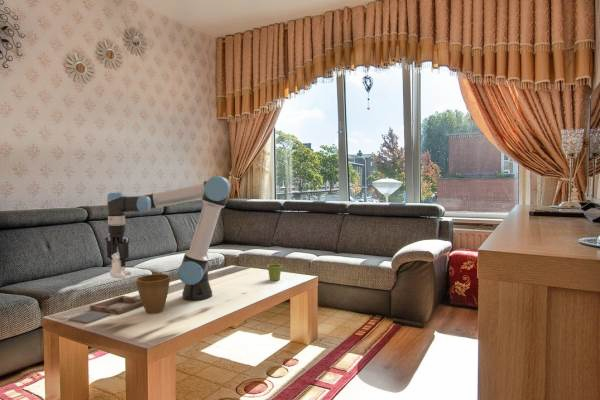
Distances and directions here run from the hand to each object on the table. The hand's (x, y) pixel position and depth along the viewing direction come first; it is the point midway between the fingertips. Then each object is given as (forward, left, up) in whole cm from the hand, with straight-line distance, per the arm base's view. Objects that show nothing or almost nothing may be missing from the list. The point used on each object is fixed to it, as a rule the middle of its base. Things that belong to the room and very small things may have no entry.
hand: (118, 272), depth 204 cm
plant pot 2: (-45, -76, -17) cm, 90 cm away
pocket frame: (0, -1, -17) cm, 17 cm away
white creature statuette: (-1, 0, -2) cm, 2 cm away
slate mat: (0, +17, -17) cm, 24 cm away
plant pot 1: (-21, -1, -17) cm, 27 cm away
